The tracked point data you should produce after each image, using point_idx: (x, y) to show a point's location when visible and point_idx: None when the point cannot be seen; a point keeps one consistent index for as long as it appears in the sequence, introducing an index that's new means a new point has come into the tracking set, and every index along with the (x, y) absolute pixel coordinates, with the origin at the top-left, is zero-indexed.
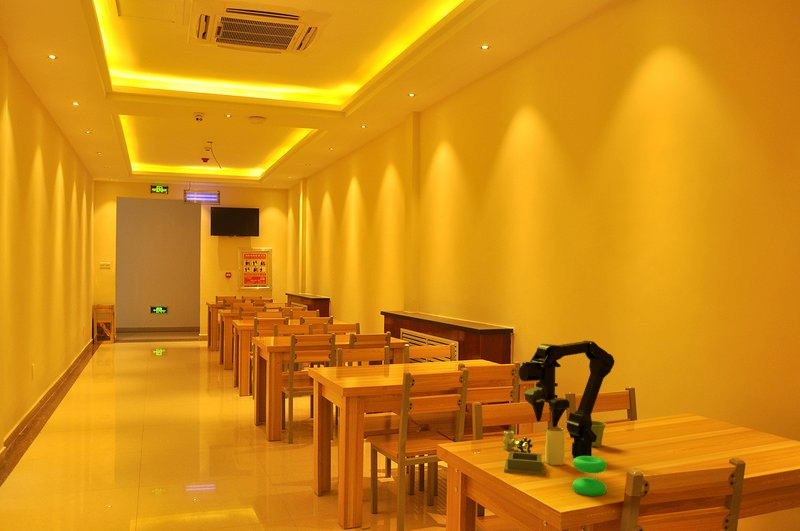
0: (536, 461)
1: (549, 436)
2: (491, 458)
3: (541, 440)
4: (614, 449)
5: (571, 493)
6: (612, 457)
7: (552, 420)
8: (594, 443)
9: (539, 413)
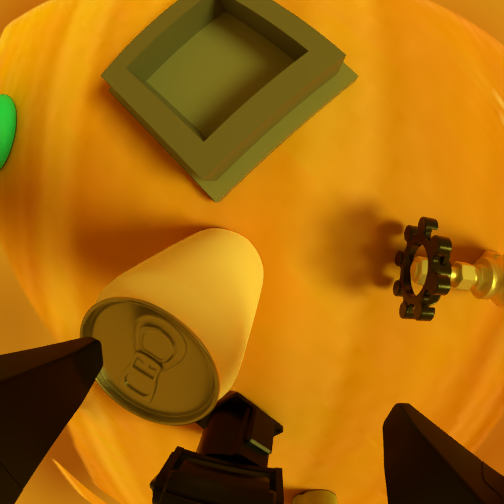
0: (119, 60)
1: (147, 264)
2: (427, 78)
3: None
4: None
5: (13, 86)
6: None
7: (41, 359)
8: (298, 500)
9: (411, 489)
